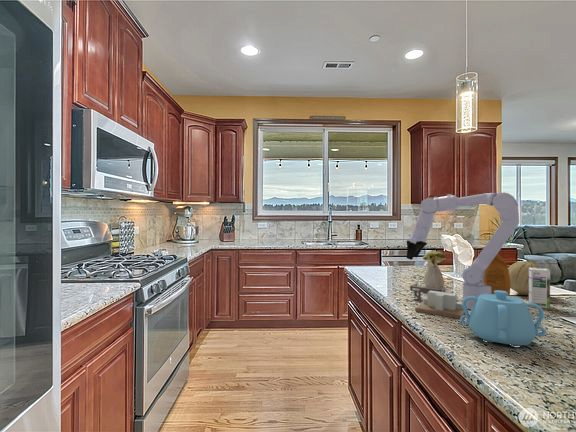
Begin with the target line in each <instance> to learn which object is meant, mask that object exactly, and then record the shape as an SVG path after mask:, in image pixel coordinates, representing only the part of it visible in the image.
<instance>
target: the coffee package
mask: <svg viewBox="0 0 576 432" xmlns="http://www.w3.org/2000/svg"><path fill="white" fill-rule="evenodd" d="M501 252H502V248H501V249H500V251H499V252H498V253H497V255H496V256H495V257H494V259H493V260H492V262H491V263H490V264H489V266H488V268H487V269H486V271H485V277H484V278H483V279H482V280H483V282H484V283H485V285H486V286H491V290H492V294H495V293H494V291H495V290H501V291H506V292H508V294H507V296H511V283H510V275H509V269H508V268H509V266H508V264H507V263H506V262H505V260H504V259H503V257H502V256H501V255H500V253H501Z"/></svg>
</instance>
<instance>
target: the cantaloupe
mask: <svg viewBox="0 0 576 432" xmlns="http://www.w3.org/2000/svg"><path fill="white" fill-rule="evenodd" d="M529 267H531V268H542V267H541V266H539V265H538V264H536V263H534V260H531V261H526V260H525V261H523V260H520V261H517V262H515V263H512V264H511V265H510V266H508V269H509V275H510V283H511V288H510V290H512V291H514V292H516V293H517V294H519V295H522V296H529Z"/></svg>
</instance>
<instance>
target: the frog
mask: <svg viewBox="0 0 576 432" xmlns="http://www.w3.org/2000/svg"><path fill="white" fill-rule="evenodd" d="M422 259H423V260H424V261H426V262H427V263H428V265H427V267H426V270H425V271H424V286H423V287H428V288H436V289H441V288H442V287H445V280H444V276H443V273H442V271H441V269H440V268H439V266H438V263H441V262H443V261H444V260H446V259H447V258H446V254H445V253H443V252H442V251H436V250H435V251H427V252H426V253H425V254H424V255H423V256H422ZM445 292H446V293H453V291H452V289H451V288H447V287H445Z"/></svg>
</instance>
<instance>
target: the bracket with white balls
mask: <svg viewBox="0 0 576 432" xmlns="http://www.w3.org/2000/svg"><path fill="white" fill-rule="evenodd" d="M409 288H410V291H411V292H413V295H414V296H415V297H416V296H417V298H418V299H417V300H421V299H422V297H421V296H422V293H425V294H427V292H429V291H430V290H431V291H438V292H445V288H446V286H444V287H442V288H441V289H436V288H428V287H424V286H418V283H413V284H412V285H410V287H409Z"/></svg>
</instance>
